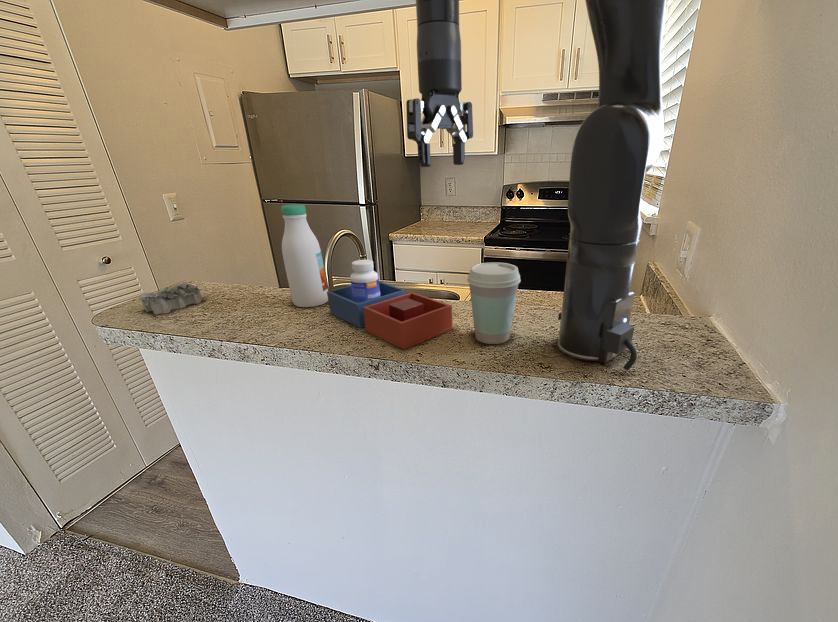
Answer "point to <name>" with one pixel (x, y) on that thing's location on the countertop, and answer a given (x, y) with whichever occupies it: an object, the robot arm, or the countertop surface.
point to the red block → (406, 309)
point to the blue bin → (353, 311)
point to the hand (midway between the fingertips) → (442, 165)
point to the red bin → (408, 321)
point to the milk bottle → (302, 259)
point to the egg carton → (171, 298)
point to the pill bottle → (364, 281)
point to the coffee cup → (493, 300)
